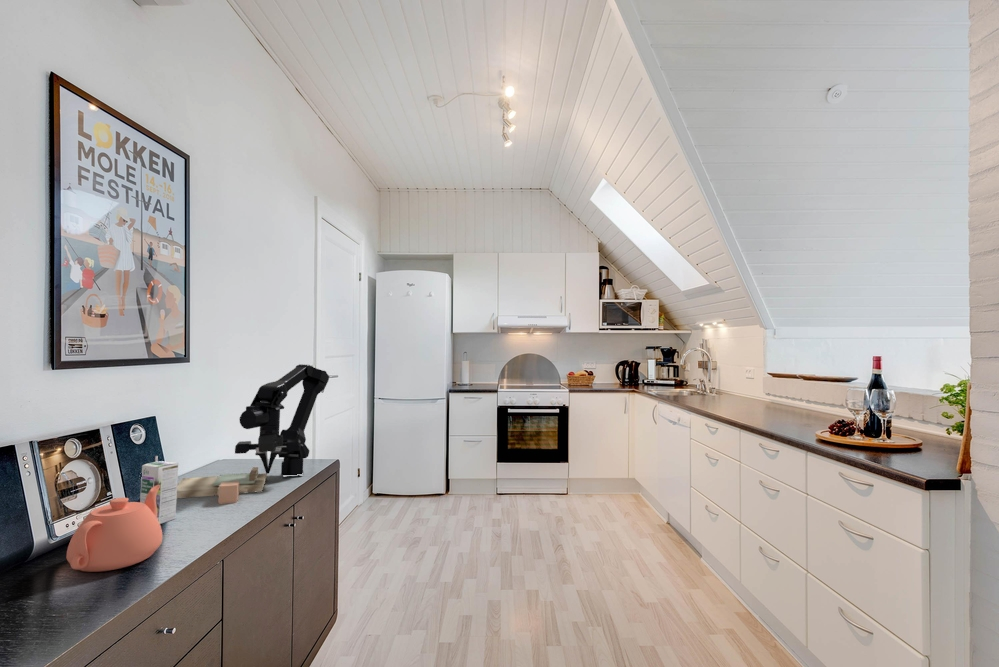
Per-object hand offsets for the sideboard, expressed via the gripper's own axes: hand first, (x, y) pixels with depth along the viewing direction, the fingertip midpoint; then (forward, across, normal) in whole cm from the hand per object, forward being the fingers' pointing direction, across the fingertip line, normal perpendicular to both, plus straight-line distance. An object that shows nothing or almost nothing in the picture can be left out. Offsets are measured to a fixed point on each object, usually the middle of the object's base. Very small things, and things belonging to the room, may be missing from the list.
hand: (267, 473), depth 156 cm
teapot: (+4, -24, -49) cm, 55 cm away
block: (+4, -9, -14) cm, 17 cm away
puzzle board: (+4, -13, 0) cm, 13 cm away
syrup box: (+4, -23, -27) cm, 36 cm away
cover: (+1, -9, 0) cm, 9 cm away
